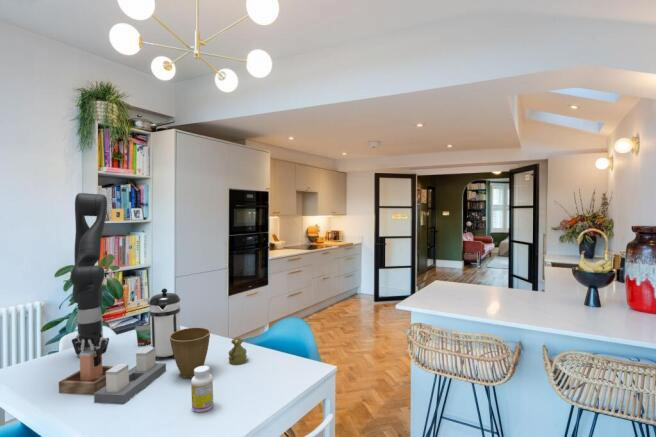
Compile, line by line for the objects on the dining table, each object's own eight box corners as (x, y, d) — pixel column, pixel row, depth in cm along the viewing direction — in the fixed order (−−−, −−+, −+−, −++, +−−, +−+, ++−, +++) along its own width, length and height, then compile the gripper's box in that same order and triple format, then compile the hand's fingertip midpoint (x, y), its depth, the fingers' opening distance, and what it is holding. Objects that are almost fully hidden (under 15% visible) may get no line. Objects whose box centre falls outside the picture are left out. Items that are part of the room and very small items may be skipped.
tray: (59, 393, 132) (58, 381, 132) (89, 375, 146) (88, 365, 146) (94, 394, 130) (94, 383, 130) (121, 376, 144) (121, 366, 144)
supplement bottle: (195, 402, 124) (194, 364, 123) (215, 401, 124) (214, 363, 124) (189, 413, 117) (188, 373, 117) (210, 412, 118) (209, 372, 117)
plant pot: (164, 374, 145) (163, 334, 145) (199, 362, 156) (198, 325, 156) (181, 386, 135) (180, 343, 135) (218, 372, 146) (217, 332, 145)
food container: (147, 348, 173) (146, 327, 173) (135, 347, 175) (134, 326, 174) (163, 338, 185) (163, 319, 185) (153, 338, 187) (152, 318, 186)
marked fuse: (90, 380, 135) (89, 353, 134) (80, 380, 135) (79, 353, 135) (102, 373, 140) (101, 347, 140) (93, 372, 141) (92, 346, 141)
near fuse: (117, 401, 126) (116, 372, 125) (106, 400, 126) (105, 371, 126) (129, 392, 132) (128, 364, 131) (119, 391, 132) (118, 364, 132)
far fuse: (146, 379, 142) (145, 353, 141) (136, 378, 142) (136, 353, 142) (155, 372, 147) (155, 347, 147) (146, 371, 148) (145, 347, 148)
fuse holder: (123, 403, 124) (123, 395, 124) (94, 402, 125) (93, 393, 125) (166, 370, 149) (165, 363, 149) (141, 369, 150) (140, 362, 150)
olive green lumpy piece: (225, 363, 155) (224, 340, 154) (235, 356, 161) (235, 334, 161) (239, 366, 152) (239, 342, 151) (250, 359, 159) (249, 336, 158)
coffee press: (193, 352, 167) (191, 286, 166) (161, 365, 154) (158, 293, 153) (169, 345, 176) (168, 282, 176) (137, 357, 163) (135, 289, 162)
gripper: (114, 317, 140) (116, 361, 140) (80, 316, 142) (82, 360, 142) (99, 323, 133) (101, 370, 133) (63, 322, 134) (65, 369, 135)
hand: (91, 365), depth 138 cm, fingers closed on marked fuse, 4 cm apart
